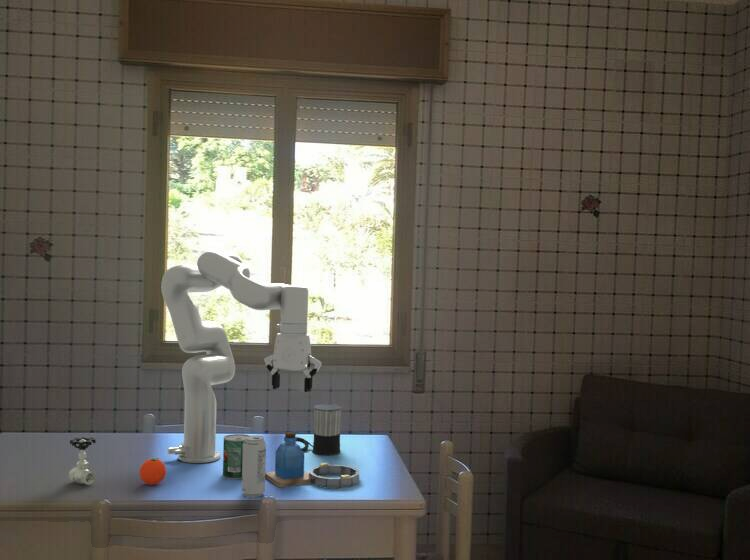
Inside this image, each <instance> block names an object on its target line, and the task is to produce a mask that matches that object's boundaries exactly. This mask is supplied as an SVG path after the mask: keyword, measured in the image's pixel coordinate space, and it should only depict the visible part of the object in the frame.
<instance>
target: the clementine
mask: <svg viewBox="0 0 750 560" xmlns="http://www.w3.org/2000/svg"><path fill="white" fill-rule="evenodd" d="M166 475H167V468H166V465H165V463H164V462H163V461H162V460H161V459H159V457H153V458H150V459H147V460H146V461H144V462H143V463H142V464H141V465H140V468H139V476H140V479H141V481H142V482H143V483H145V484H146V485H149V486H155V485H159V484H160V483H161V482H162V481H163V480H164V479H165V477H166Z"/></svg>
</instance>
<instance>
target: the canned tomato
mask: <svg viewBox="0 0 750 560" xmlns="http://www.w3.org/2000/svg"><path fill="white" fill-rule="evenodd" d="M247 436H250V435H249V434H243V433H235V434H227V435H224V437H223V449H222V450H223V452H222V453H223V455H222V457H223V458H222V477H223V478H225V479H227V480H242V460H243V443H244V441H245V438H246V437H247Z"/></svg>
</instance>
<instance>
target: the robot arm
mask: <svg viewBox="0 0 750 560" xmlns="http://www.w3.org/2000/svg"><path fill="white" fill-rule="evenodd" d="M196 261H197V262H196V264H195V265H194V264H182V265H181V264H180V265H179V264H178V265H175V266H172V267H170V268H169V269H167V270H166V271H165V273H164V274H163V276H162V279H161V284H160V285H161V286H160V288H161V295H162V298H163V301H164V302H165V305H166V307H167V309H168V312H169V314H170V319H171V321H172V326H173V329H174V333H175V336H176V339H177V343H178V346H179V349H180V350H181V351H182V352H184V353H187V354H194V353H204V352H205V354H203V355H195V356H193V357H190V358H188V359H187V360H186V361H185V362H184V363H183V365H182V368H181V377H182V384H183V389H184V392H183V393H184V419H183V421H184V422H183V423H184V425H183V426H184V427H183V428H184V429H183V433H184V434H183V442H181V443H180V445H178V446H177V447H174V446H173V447H168V448H167V454H168V455H177V457H178V460H179V461H181V462H184V463H189V464H204V463H211V462H215V461H218V460H219V459H220V458H221V453H220V451H217V450H216V439H217V438H216V435H217V431H216V430H217V398H216V394H215V392H214V390H213V388H212V386H214V385H219V384H220V385H221V384H226V383H228V382H230V381H231V380H232V379H233V378H234V376H235V373H236V363H235V359H234V355H233V352H232V348H231V345H230V343H229V339H228V336H227V333H226V330H225V329H224V327H223V326H222V325H221V324H220V323H218V322H216V321H212V320H211V321H210V320H207V321H206V320H205V321H203V320H202V318H201V314H200V312H199V308H198V306H197V304H196V303H195V301H194V300H193V299H192V298H191V297H190V295H188V293H205V292H206V293H207V292H211V291H214V290H216V289H217V288H220V287H224V288H226V289H228V290H229V292H230V294H231V296H232V297H233V299H234V300H235V301H237V302H239V303H240V304H242V305H244V306H246V307H248V308H250V309H252V310H256V311H269V310H272V311H273V310H280V322H279V323H277V324H276V325H275V329H277V330H279V333H276V337H275V341H274V347H273V348H274V349H273V353H272V354H270V355H268V356H267V357H264V358H263V361H264V363H265V366H266V369H267V370H268V371H269V372H270V373H269V374H270V375H271V386H272V390H277V389H279V388H280V386H281V375H280V371H281V370H283V371H293V372H296V371H297V372H303V374H304V375H305V376H306V377H305V378H304V382H303V383H304V385H303V386H304V387H303V391H304V393H309V392H311V391H312V388H313V377H314V376H315V375H316V374H317V373H318V372H319V370H320V368H321V367H322V364H323V363H322V361H320V360H319V359H317V358H316V357H314V356H312V347H311V346H312V345H311V339H310V334H308V317H309V316H308V315H309V313H308V311H309V289H308V288H307V287H306V286H305V285H296V284H285V283H281V282H279V283H277V282H276V283H275V282H273V283H270V282H268V283H267V282H266V283H259V282H256V281H255V280H252V279H250V277H251V272H250V270H249V267H248V266H246V265H245V264H243V261H242V258H241V257H240V256H239V254H237V253H236V252H233V251H226V250H208V251H205V252H204V253H202V254H200V256H199V257H198V258H197V260H196ZM312 364H313V365H314V367H313V369H312V368H311V366H312Z"/></svg>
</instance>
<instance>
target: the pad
mask: <svg viewBox="0 0 750 560" xmlns="http://www.w3.org/2000/svg"><path fill="white" fill-rule="evenodd" d="M265 480H268V481H269V482H271V483H272V484H274V485H275V486H276V487H278V488H279V487H280V488H285V487H284V486H287V487H293V486H292V485H294V486H298V485H299V484H301V485H307V483H308V484H312V483H311V478H309V472H306V471H305V470H304V477H300V478H291V479H282V478H280V477H279V476H278V475H276V474H275V470H274V471H267V472H266V471H265Z"/></svg>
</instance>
